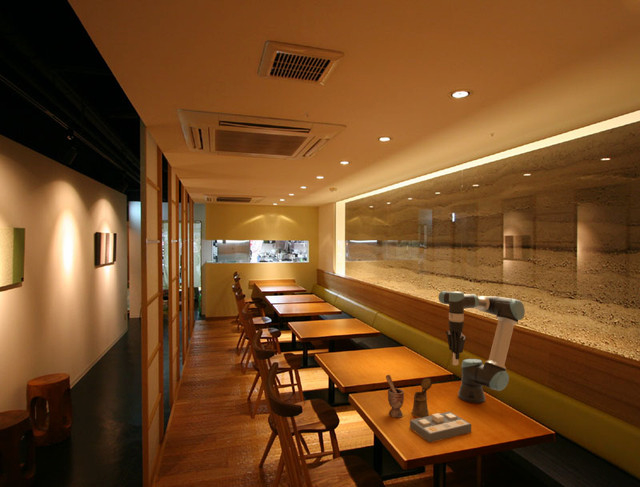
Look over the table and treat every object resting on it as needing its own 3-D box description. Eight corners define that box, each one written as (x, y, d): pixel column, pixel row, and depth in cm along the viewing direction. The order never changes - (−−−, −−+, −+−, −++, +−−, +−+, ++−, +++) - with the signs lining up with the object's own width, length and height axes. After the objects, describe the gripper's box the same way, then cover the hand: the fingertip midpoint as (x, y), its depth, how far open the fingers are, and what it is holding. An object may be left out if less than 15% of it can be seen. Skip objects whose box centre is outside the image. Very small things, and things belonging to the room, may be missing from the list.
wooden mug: (435, 411, 210) (436, 379, 210) (423, 419, 200) (423, 385, 200) (421, 406, 216) (422, 375, 216) (408, 413, 207) (409, 381, 207)
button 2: (450, 420, 197) (450, 413, 197) (456, 424, 193) (456, 416, 193) (444, 422, 196) (445, 414, 196) (450, 425, 192) (450, 417, 192)
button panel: (449, 418, 201) (449, 411, 201) (471, 432, 188) (471, 423, 188) (409, 427, 191) (410, 419, 191) (429, 442, 177) (429, 433, 177)
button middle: (438, 420, 194) (438, 413, 194) (443, 424, 190) (443, 416, 190) (431, 422, 192) (432, 414, 192) (437, 425, 189) (437, 417, 188)
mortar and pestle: (379, 413, 207) (380, 377, 207) (387, 408, 214) (387, 373, 213) (399, 419, 200) (399, 382, 200) (406, 414, 206) (406, 377, 206)
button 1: (424, 426, 190) (424, 418, 190) (430, 430, 187) (430, 422, 187) (418, 428, 189) (418, 420, 189) (423, 431, 185) (423, 423, 185)
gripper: (442, 318, 205) (441, 361, 205) (459, 323, 193) (459, 369, 193) (452, 317, 208) (452, 360, 208) (470, 322, 196) (470, 367, 196)
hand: (455, 364), depth 201 cm, fingers closed
